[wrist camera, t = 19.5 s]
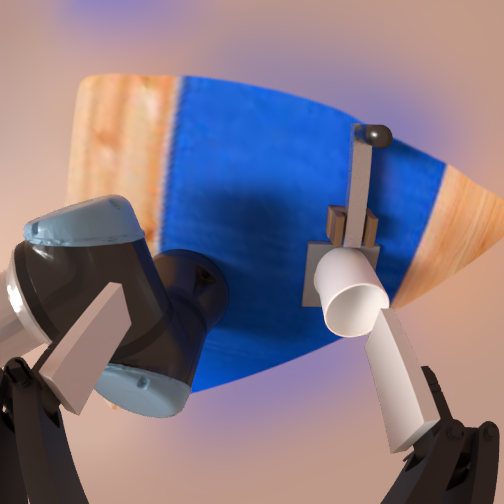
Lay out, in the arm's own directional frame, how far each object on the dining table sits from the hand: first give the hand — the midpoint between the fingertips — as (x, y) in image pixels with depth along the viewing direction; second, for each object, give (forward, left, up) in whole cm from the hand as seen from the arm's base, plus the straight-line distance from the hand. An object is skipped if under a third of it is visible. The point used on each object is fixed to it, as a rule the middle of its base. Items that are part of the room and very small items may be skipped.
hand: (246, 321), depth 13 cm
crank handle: (+12, +2, -24) cm, 27 cm away
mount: (+12, -4, -26) cm, 29 cm away
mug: (+12, -13, -25) cm, 31 cm away
